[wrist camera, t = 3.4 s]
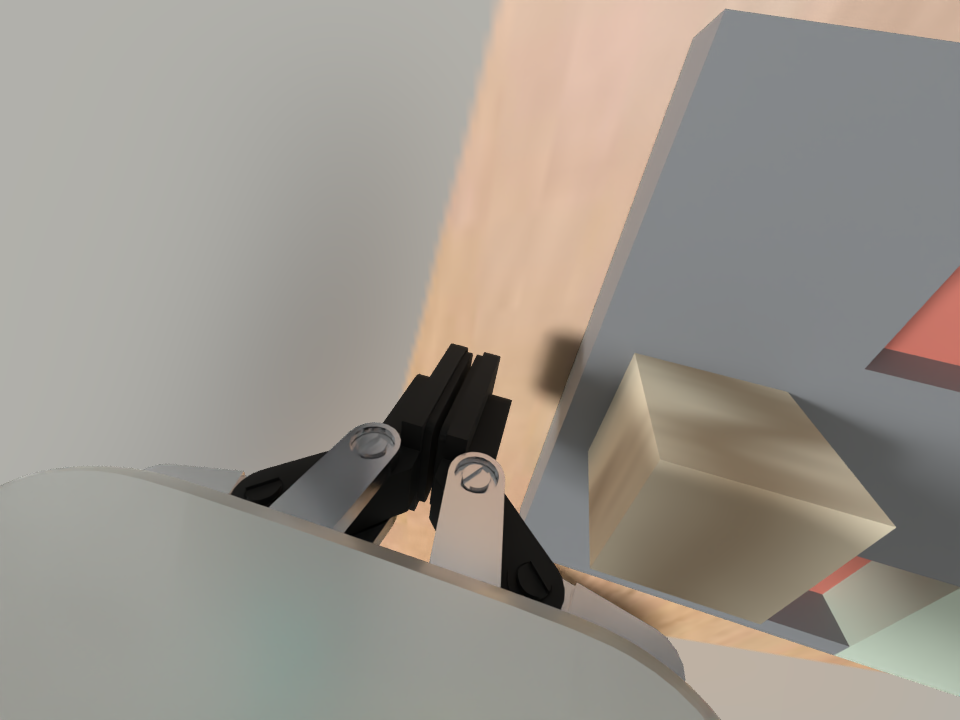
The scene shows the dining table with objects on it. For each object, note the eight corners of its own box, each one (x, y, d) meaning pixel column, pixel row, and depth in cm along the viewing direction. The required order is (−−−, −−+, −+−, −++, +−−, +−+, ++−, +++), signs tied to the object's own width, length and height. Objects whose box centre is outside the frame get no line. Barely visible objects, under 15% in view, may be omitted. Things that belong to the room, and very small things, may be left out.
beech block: (787, 392, 11) (896, 527, 7) (710, 487, 13) (760, 624, 9) (634, 352, 11) (660, 459, 8) (588, 451, 14) (590, 568, 10)
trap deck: (1917, 227, 7) (2519, 267, 5) (957, 645, 18) (1007, 712, 16) (693, 37, 9) (724, 8, 7) (520, 507, 20) (513, 549, 18)
